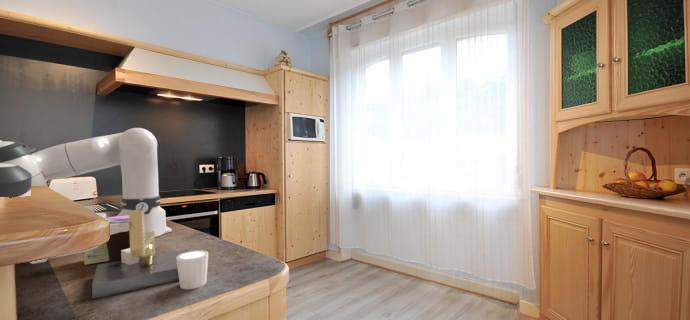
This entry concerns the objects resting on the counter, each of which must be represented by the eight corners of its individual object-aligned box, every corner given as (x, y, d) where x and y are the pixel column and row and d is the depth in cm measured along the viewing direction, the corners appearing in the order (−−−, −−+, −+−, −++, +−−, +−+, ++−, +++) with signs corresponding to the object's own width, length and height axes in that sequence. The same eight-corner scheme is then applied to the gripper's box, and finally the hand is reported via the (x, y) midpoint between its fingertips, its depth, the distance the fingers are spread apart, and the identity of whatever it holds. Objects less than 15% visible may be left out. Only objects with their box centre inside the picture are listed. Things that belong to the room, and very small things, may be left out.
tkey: (144, 255, 84) (143, 200, 83) (157, 254, 85) (156, 200, 84) (129, 278, 69) (127, 212, 68) (145, 276, 70) (143, 211, 69)
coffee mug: (123, 270, 82) (122, 232, 82) (96, 267, 84) (95, 230, 84) (158, 255, 94) (157, 222, 93) (134, 253, 95) (133, 220, 95)
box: (130, 252, 96) (128, 214, 96) (130, 257, 92) (129, 217, 91) (86, 259, 90) (84, 219, 90) (84, 265, 86) (82, 222, 85)
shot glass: (188, 293, 69) (187, 261, 69) (170, 286, 73) (170, 256, 72) (215, 281, 75) (214, 252, 75) (198, 275, 79) (197, 248, 78)
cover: (121, 261, 80) (121, 250, 80) (138, 257, 83) (138, 246, 83) (129, 264, 78) (129, 252, 78) (146, 259, 81) (146, 248, 81)
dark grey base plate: (97, 276, 78) (97, 264, 78) (186, 260, 89) (186, 249, 89) (92, 298, 67) (91, 285, 66) (195, 276, 78) (195, 264, 78)
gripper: (56, 238, 70) (130, 229, 78) (29, 267, 53) (128, 252, 61) (54, 210, 70) (130, 204, 77) (28, 230, 53) (127, 219, 60)
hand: (129, 225), depth 69 cm, fingers closed
